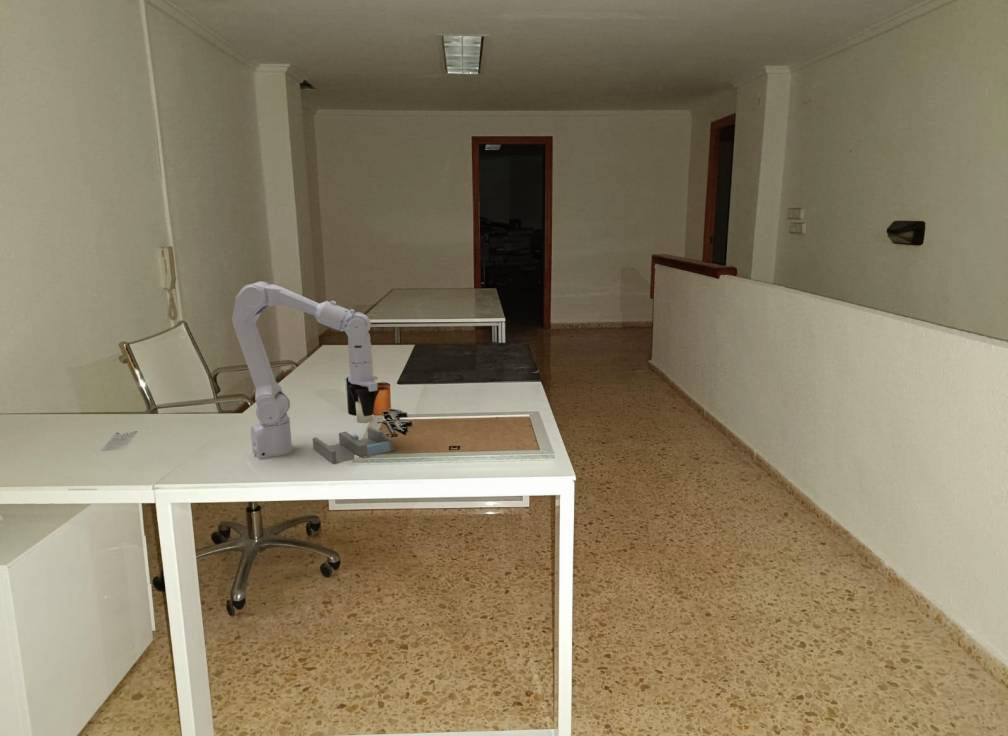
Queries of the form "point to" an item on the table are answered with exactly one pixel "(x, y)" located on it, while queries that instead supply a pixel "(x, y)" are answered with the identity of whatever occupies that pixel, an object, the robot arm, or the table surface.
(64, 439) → the table surface
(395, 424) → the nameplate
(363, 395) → the robot arm
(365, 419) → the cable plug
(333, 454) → the grey walled tray piece
